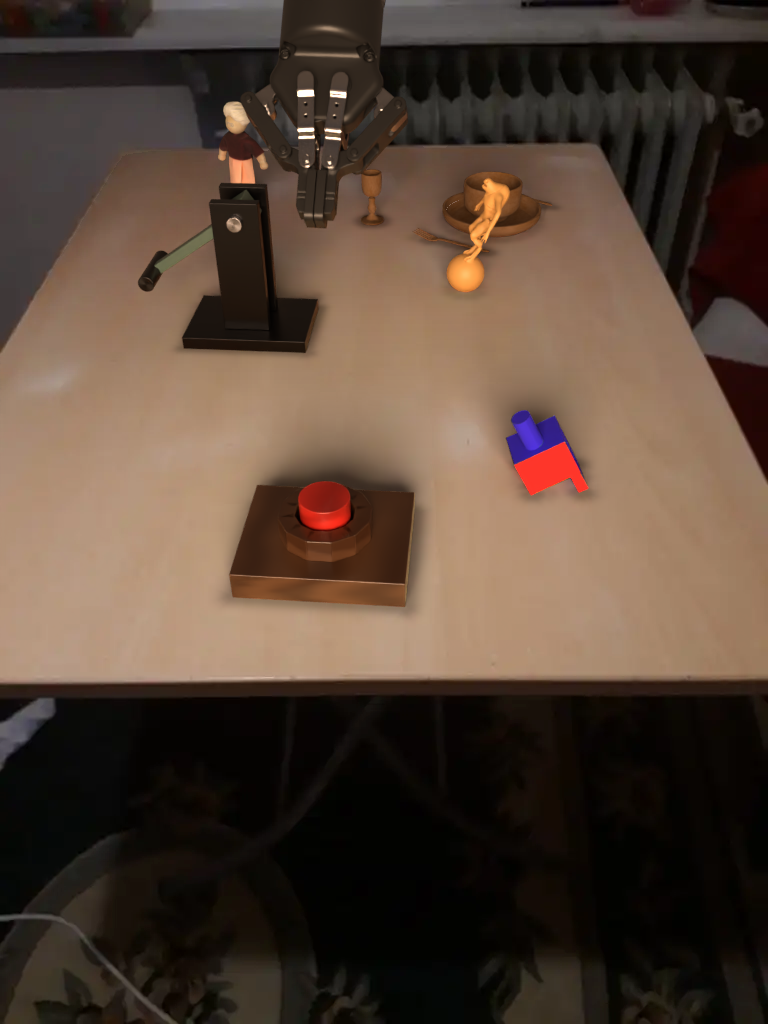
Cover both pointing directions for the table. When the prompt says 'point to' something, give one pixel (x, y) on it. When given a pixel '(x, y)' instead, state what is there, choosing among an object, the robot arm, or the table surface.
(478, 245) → the figurine
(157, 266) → the lever
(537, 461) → the toy building block
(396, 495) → the button block
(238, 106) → the grandmother figurine
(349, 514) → the button
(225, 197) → the bracket
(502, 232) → the place setting
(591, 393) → the table surface
